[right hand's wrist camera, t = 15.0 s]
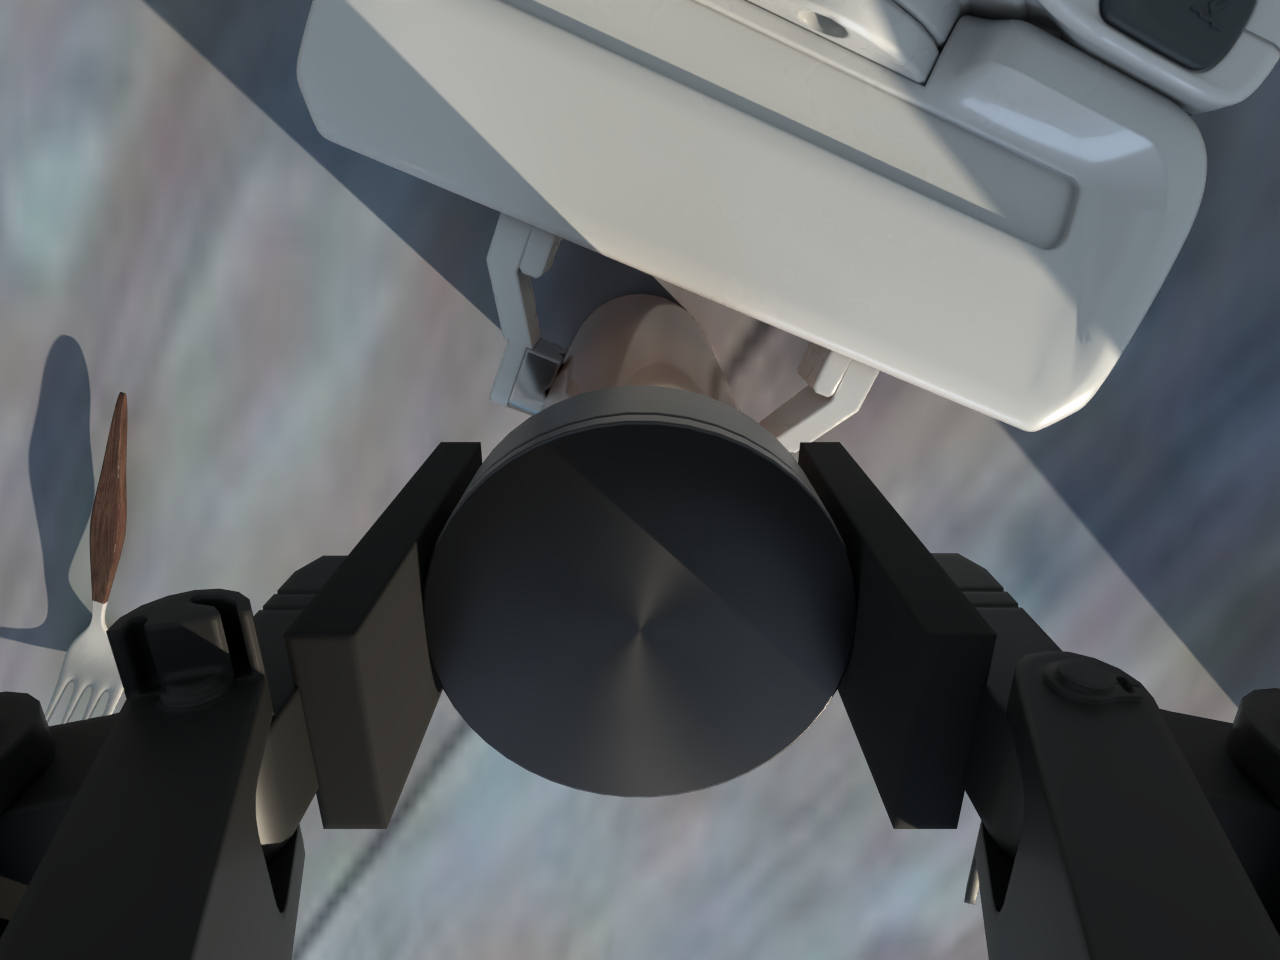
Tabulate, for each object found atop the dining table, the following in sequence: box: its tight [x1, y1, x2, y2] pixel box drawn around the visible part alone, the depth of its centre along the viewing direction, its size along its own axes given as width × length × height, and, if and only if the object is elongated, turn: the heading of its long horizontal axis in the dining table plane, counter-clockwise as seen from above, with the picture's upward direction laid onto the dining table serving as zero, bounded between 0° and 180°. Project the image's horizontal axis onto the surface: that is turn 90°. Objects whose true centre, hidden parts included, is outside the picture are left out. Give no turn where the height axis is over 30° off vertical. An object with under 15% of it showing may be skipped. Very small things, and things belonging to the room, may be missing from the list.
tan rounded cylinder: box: [540, 294, 741, 412], centre depth 18 cm, size 5×5×17 cm
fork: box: [45, 392, 127, 724], centre depth 28 cm, size 3×16×2 cm, turn 160°
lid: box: [423, 385, 858, 797], centre depth 11 cm, size 6×6×2 cm
